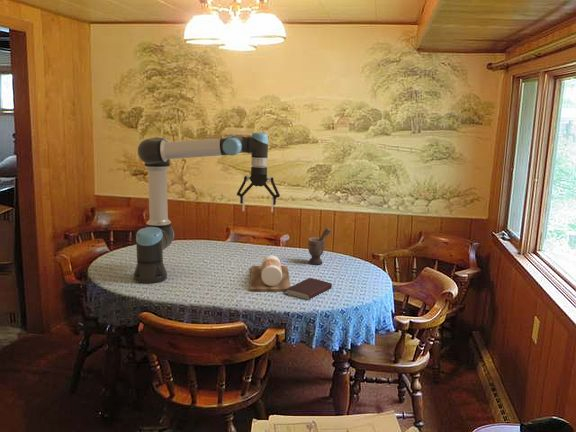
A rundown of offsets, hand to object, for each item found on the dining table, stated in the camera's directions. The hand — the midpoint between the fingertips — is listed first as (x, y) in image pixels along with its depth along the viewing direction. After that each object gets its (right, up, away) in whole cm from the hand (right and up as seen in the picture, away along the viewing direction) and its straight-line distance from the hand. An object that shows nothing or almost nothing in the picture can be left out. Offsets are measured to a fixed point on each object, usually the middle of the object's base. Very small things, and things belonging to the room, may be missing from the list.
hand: (257, 211), depth 253 cm
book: (+24, -36, -15) cm, 46 cm away
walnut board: (+6, -32, +1) cm, 33 cm away
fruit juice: (+7, -29, -15) cm, 34 cm away
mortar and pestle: (+31, -28, +29) cm, 50 cm away
